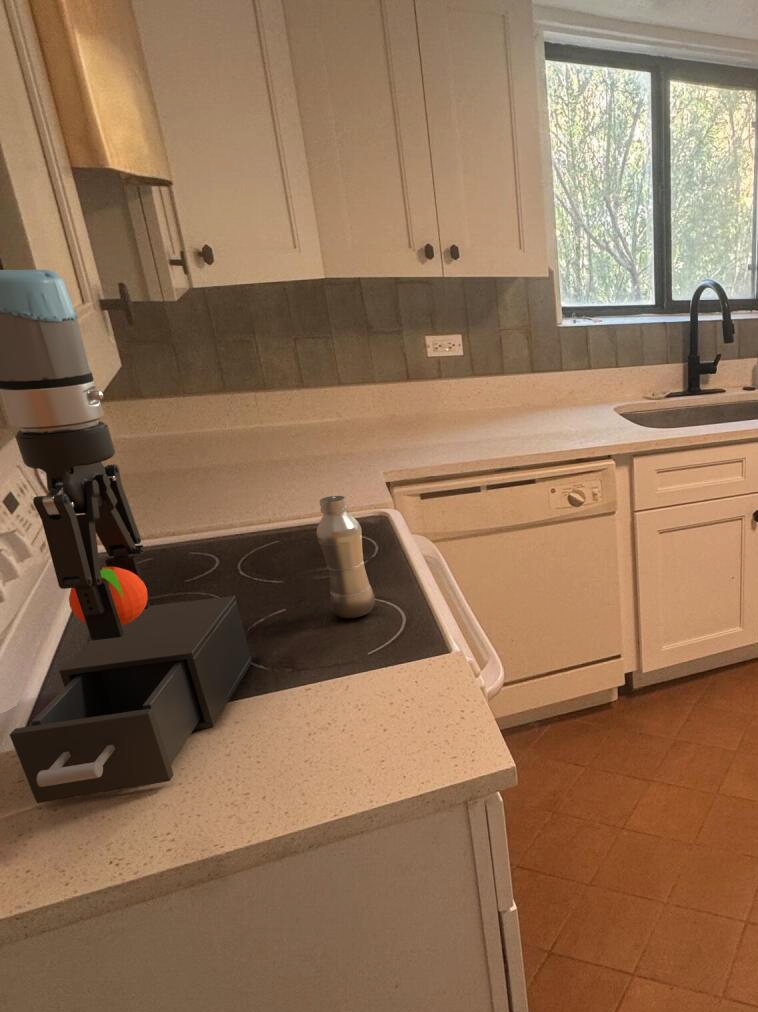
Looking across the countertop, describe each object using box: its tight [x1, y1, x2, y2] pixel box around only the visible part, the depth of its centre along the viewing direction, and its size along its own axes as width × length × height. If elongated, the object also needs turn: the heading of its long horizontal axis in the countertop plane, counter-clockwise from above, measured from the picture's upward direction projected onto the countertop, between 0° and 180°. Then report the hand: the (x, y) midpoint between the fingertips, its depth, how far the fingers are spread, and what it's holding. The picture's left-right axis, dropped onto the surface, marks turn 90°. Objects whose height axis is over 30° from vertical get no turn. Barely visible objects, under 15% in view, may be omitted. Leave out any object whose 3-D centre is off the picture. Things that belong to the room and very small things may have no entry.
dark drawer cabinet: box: [58, 595, 253, 731], centre depth 103 cm, size 18×14×11 cm
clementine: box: [68, 566, 149, 626], centre depth 88 cm, size 8×7×7 cm
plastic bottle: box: [315, 495, 376, 619], centre depth 126 cm, size 6×7×20 cm
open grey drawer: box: [9, 659, 203, 804], centre depth 89 cm, size 22×12×9 cm, turn 17°
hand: (122, 622), depth 90 cm, fingers closed on clementine, 7 cm apart
